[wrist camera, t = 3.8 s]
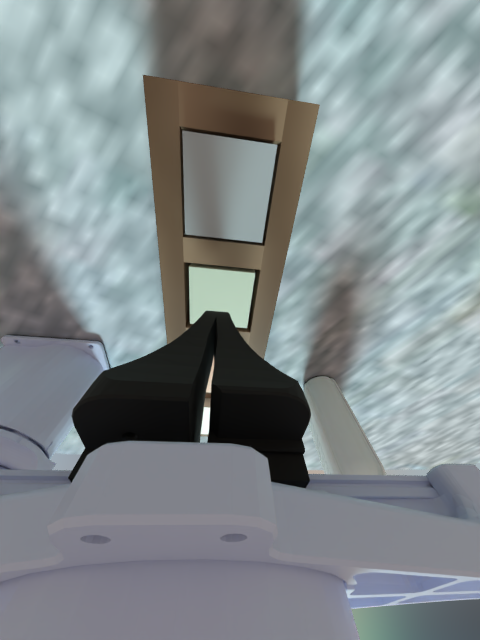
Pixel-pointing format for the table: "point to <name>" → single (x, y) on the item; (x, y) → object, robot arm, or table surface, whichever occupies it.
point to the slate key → (226, 186)
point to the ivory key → (206, 417)
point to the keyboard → (168, 185)
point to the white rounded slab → (338, 431)
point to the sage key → (221, 291)
